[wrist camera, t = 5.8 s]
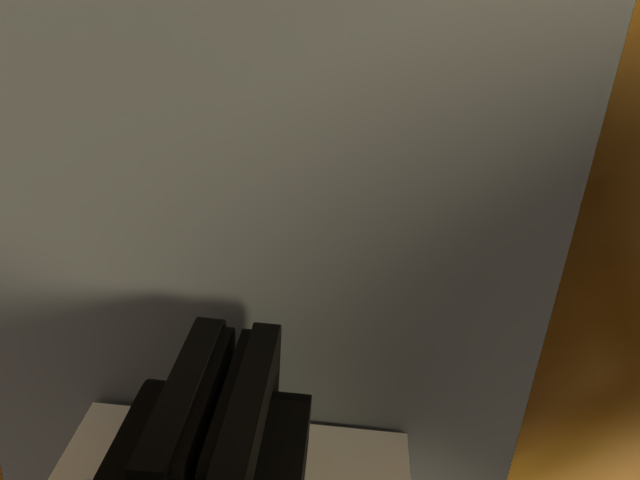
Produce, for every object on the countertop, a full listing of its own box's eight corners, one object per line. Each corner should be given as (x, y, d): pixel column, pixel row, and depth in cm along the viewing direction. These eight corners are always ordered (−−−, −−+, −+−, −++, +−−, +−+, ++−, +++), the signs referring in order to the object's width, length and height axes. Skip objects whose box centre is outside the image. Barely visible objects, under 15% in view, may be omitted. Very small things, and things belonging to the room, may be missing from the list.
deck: (-33, -221, 11) (-157, -275, 9) (614, -177, 11) (695, -221, 8) (63, 433, 18) (11, 516, 16) (465, 474, 18) (483, 566, 15)
